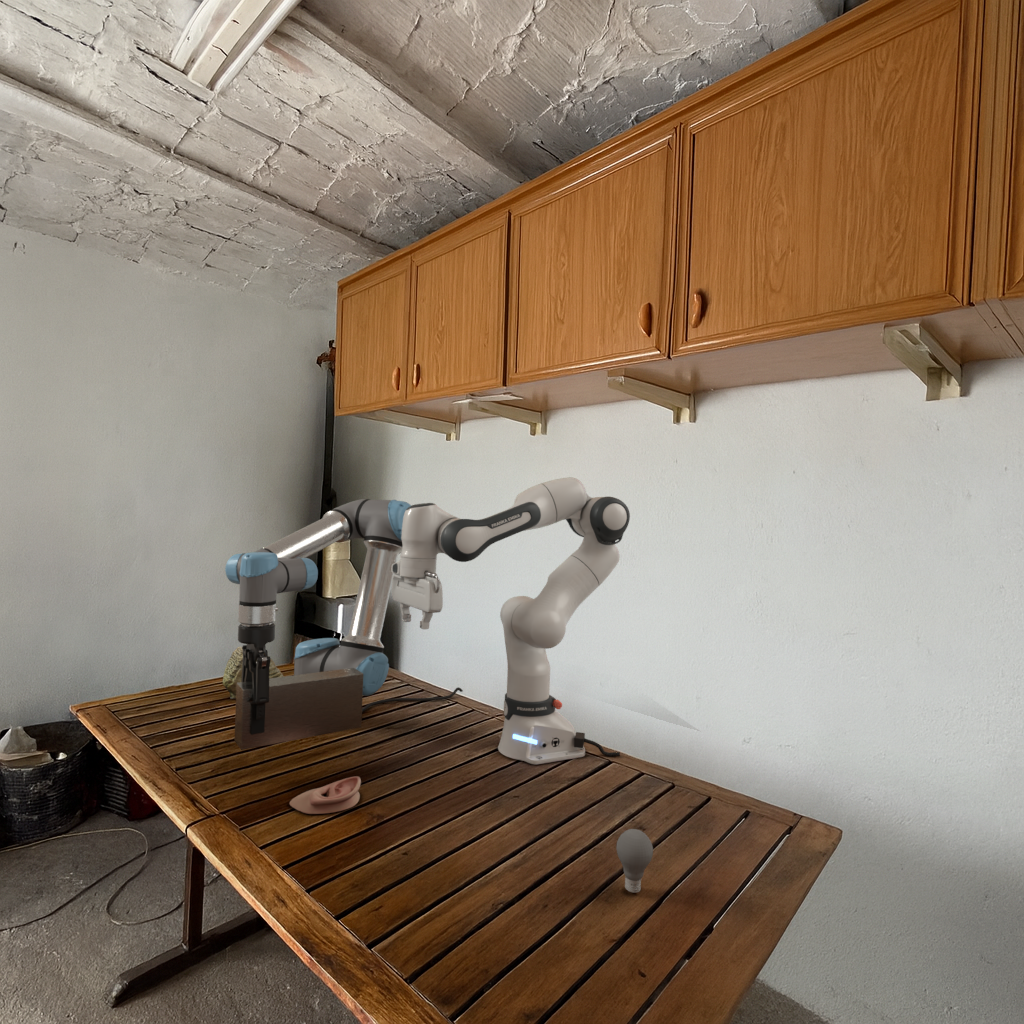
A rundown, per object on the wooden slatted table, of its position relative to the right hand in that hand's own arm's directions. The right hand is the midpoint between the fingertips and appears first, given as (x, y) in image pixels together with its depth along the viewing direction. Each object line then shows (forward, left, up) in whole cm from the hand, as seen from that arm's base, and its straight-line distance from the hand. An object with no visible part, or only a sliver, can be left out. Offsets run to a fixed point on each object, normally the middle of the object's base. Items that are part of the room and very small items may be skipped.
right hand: (415, 625), depth 155 cm
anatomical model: (+19, +20, -33) cm, 43 cm away
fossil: (+42, -55, -33) cm, 77 cm away
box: (+26, +4, -24) cm, 35 cm away
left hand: (+35, +7, -21) cm, 42 cm away
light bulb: (-30, +60, -33) cm, 75 cm away
